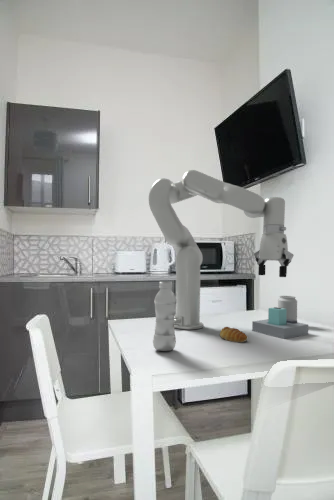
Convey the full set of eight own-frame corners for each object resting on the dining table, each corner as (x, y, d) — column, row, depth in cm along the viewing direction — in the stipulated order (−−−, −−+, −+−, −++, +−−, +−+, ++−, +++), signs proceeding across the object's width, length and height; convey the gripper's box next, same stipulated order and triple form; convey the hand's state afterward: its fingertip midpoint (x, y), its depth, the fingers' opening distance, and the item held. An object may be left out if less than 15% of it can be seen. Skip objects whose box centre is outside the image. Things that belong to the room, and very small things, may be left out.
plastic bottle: (152, 347, 98) (153, 280, 98) (174, 347, 98) (175, 281, 99) (153, 353, 91) (154, 282, 92) (177, 353, 92) (178, 282, 92)
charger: (278, 335, 117) (278, 309, 117) (268, 332, 120) (268, 307, 121) (286, 333, 119) (286, 308, 120) (275, 331, 123) (276, 306, 123)
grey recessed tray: (284, 338, 111) (284, 326, 111) (252, 330, 123) (252, 319, 123) (308, 334, 119) (308, 322, 119) (276, 326, 130) (276, 316, 131)
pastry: (252, 341, 108) (252, 330, 108) (239, 345, 103) (239, 332, 103) (230, 335, 115) (230, 325, 115) (217, 338, 111) (217, 327, 111)
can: (293, 323, 138) (294, 295, 138) (299, 327, 130) (299, 297, 130) (275, 323, 138) (276, 294, 139) (280, 326, 131) (280, 296, 131)
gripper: (299, 230, 117) (298, 277, 117) (262, 232, 132) (260, 274, 131) (286, 228, 113) (284, 277, 113) (249, 230, 128) (247, 274, 127)
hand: (271, 276), depth 122 cm, fingers open, 9 cm apart
